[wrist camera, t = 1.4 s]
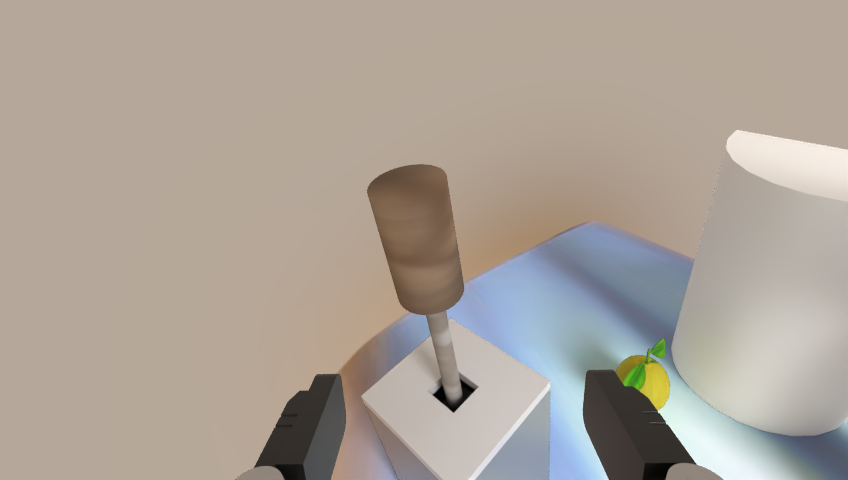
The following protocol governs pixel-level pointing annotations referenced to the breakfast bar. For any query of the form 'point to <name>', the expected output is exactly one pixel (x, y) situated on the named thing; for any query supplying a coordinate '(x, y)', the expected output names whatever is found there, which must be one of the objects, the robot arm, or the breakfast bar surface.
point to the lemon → (647, 375)
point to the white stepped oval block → (771, 289)
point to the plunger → (423, 256)
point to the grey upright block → (463, 415)
